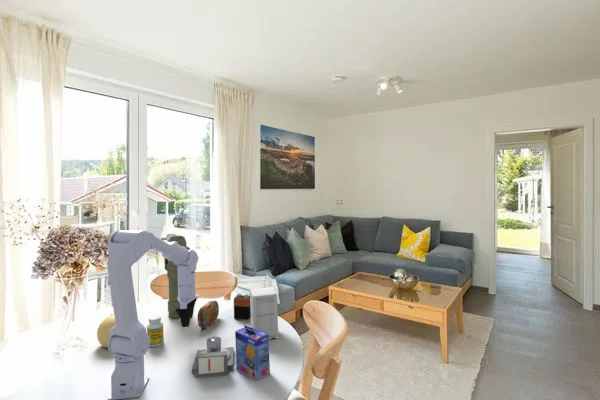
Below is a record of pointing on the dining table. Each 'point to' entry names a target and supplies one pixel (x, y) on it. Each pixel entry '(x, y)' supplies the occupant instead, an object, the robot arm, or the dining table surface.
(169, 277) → the thermos
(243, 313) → the battery
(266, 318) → the white tall box
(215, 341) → the silver metal cylinder
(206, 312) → the tin
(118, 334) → the robot arm
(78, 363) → the dining table surface
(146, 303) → the dining table surface
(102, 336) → the sculpture
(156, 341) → the supplement bottle
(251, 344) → the ink cartridge box
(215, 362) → the scale
